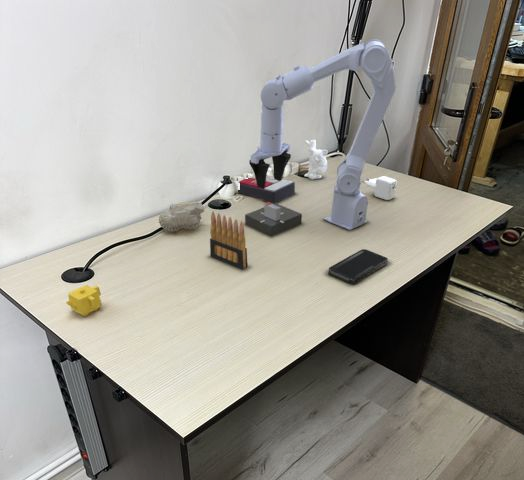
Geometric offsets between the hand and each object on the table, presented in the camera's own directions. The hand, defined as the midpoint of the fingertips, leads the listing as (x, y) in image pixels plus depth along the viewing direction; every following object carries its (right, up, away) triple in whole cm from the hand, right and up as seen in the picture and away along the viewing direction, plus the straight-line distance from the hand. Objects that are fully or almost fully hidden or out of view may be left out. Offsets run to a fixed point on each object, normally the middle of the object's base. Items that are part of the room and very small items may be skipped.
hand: (269, 183), depth 138 cm
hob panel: (+1, -11, +2) cm, 11 cm away
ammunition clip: (-10, -25, -15) cm, 31 cm away
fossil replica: (-24, -13, -1) cm, 27 cm away
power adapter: (+35, +3, +19) cm, 40 cm away
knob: (+1, -10, -2) cm, 10 cm away
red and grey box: (-1, +3, +20) cm, 20 cm away
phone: (+21, -27, -18) cm, 38 cm away
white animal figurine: (+16, +12, +31) cm, 37 cm away
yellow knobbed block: (-39, -38, -33) cm, 64 cm away
